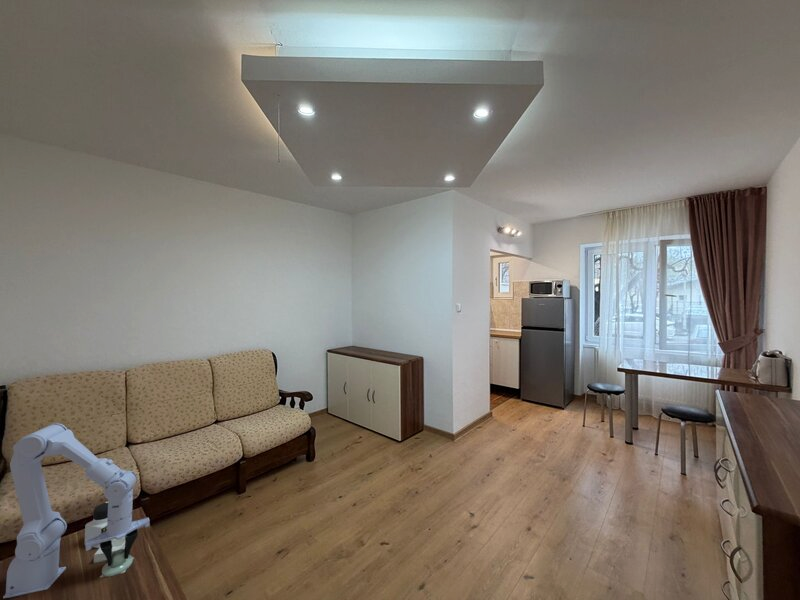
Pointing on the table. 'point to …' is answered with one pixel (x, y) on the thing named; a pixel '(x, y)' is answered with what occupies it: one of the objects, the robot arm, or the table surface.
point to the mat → (119, 573)
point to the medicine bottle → (97, 523)
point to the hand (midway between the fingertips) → (117, 560)
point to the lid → (117, 563)
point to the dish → (116, 545)
